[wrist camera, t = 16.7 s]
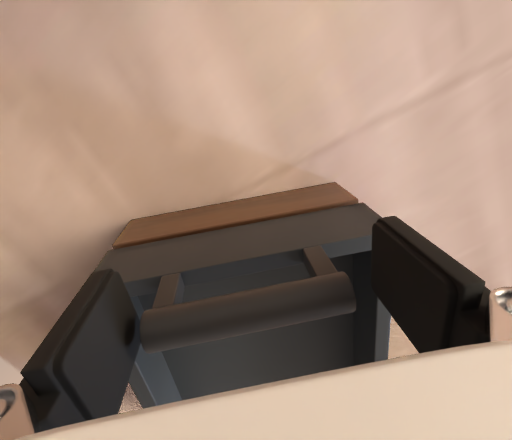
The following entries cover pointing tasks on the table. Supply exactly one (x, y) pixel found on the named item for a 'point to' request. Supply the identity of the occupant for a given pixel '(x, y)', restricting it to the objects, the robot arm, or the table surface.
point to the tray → (253, 304)
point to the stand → (233, 214)
